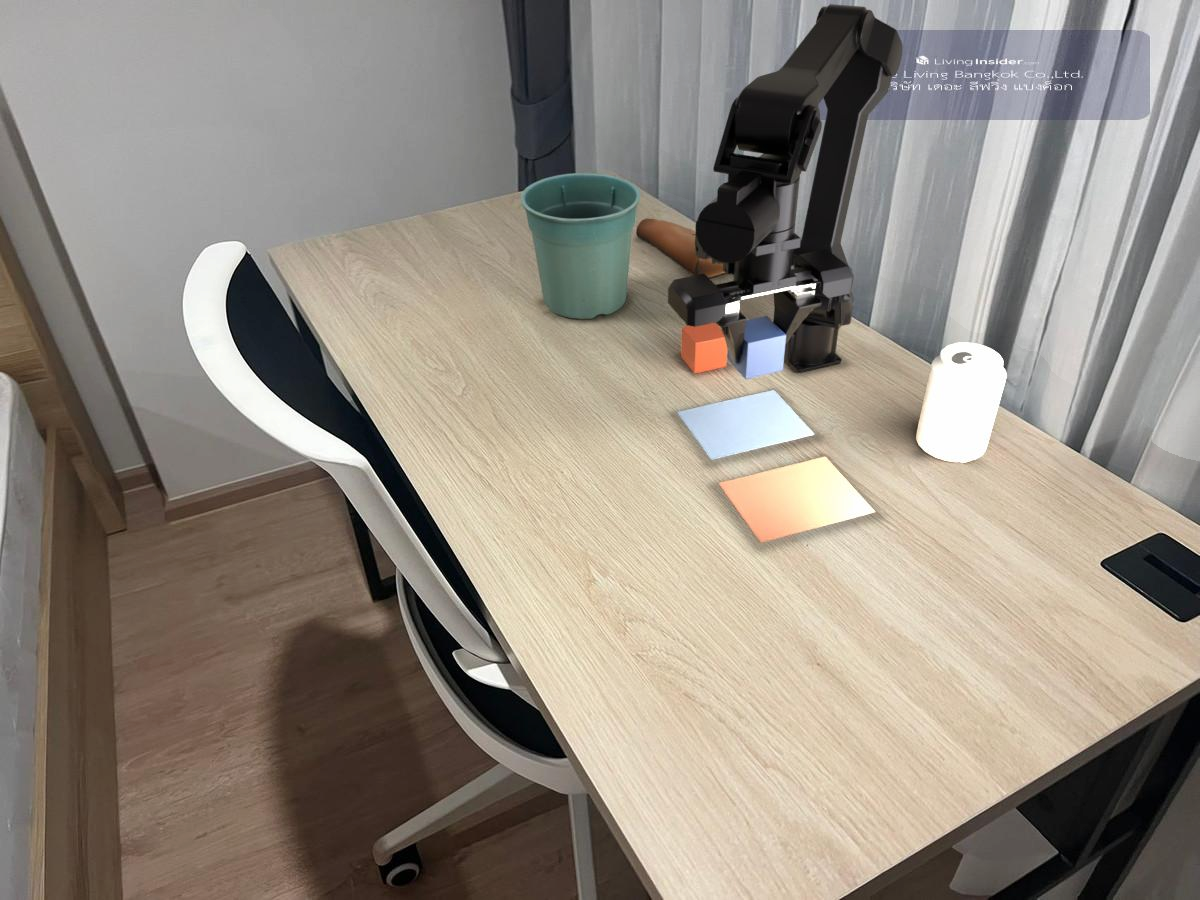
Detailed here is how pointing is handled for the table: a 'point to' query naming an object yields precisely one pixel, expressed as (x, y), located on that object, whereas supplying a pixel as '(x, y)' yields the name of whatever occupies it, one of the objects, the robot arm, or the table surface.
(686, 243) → the sunglasses case
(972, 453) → the can
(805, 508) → the terracotta mat
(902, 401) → the table surface
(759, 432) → the blue mat
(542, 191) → the flower pot
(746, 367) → the blue block
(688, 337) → the terracotta block
